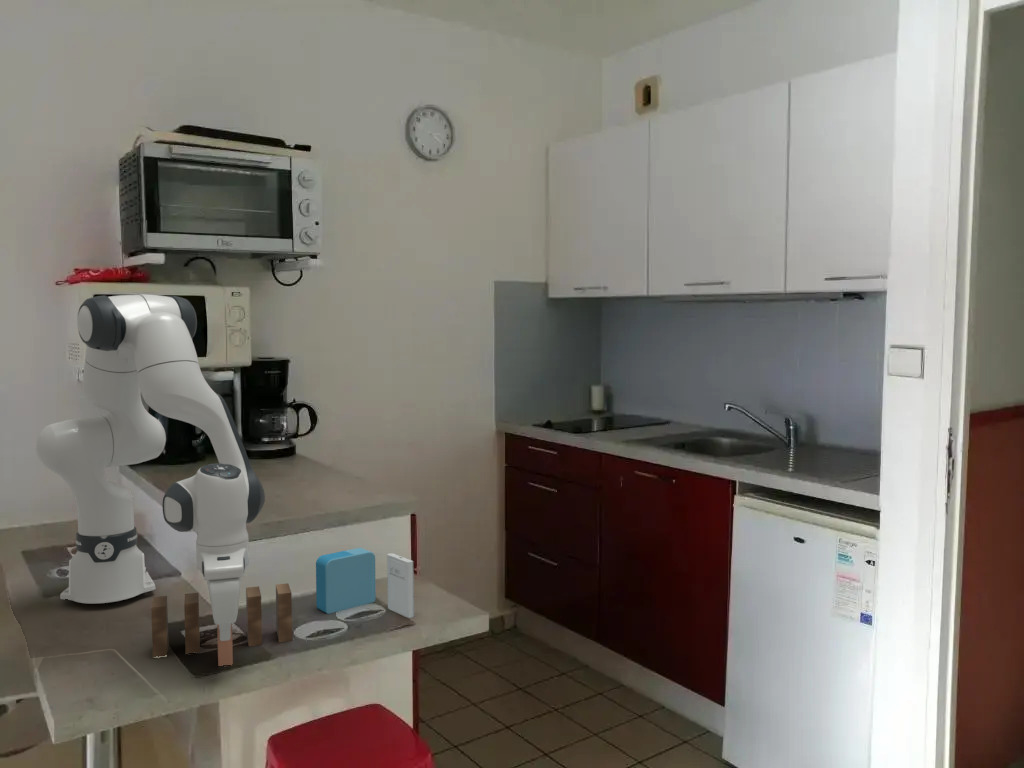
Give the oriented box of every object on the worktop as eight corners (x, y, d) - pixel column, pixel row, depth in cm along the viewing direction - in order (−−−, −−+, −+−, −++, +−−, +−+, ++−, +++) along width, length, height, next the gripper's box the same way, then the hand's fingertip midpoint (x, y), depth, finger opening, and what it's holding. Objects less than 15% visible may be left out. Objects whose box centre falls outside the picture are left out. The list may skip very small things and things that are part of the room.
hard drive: (393, 609, 178) (392, 552, 177) (415, 620, 171) (414, 560, 171) (386, 611, 176) (386, 554, 176) (408, 622, 170) (408, 562, 169)
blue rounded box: (365, 599, 184) (364, 546, 183) (376, 604, 181) (375, 550, 180) (316, 612, 176) (315, 556, 175) (326, 617, 173) (325, 560, 172)
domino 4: (248, 649, 156) (247, 597, 155) (247, 638, 161) (246, 587, 161) (262, 647, 157) (261, 595, 156) (260, 636, 162) (258, 586, 161)
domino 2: (185, 657, 152) (184, 603, 151) (186, 645, 158) (184, 593, 157) (199, 655, 153) (198, 602, 152) (199, 644, 158) (198, 592, 158)
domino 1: (152, 661, 150) (151, 607, 149) (154, 649, 156) (153, 597, 155) (167, 660, 151) (165, 605, 150) (168, 647, 156) (167, 595, 156)
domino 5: (279, 645, 158) (278, 593, 157) (276, 634, 163) (275, 584, 163) (292, 644, 159) (291, 592, 158) (289, 633, 164) (288, 583, 163)
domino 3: (218, 670, 146) (217, 614, 146) (217, 657, 152) (216, 603, 151) (232, 668, 147) (231, 613, 146) (231, 655, 153) (230, 602, 152)
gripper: (203, 543, 157) (205, 615, 158) (204, 573, 138) (206, 655, 139) (239, 540, 159) (240, 611, 160) (244, 569, 140) (245, 650, 141)
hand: (224, 632), depth 149 cm, fingers closed on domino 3, 6 cm apart
